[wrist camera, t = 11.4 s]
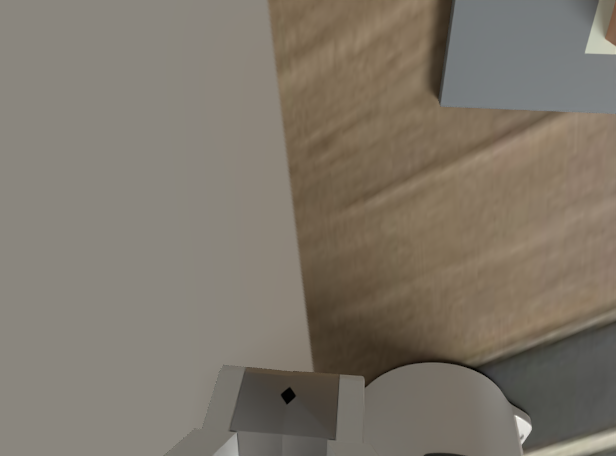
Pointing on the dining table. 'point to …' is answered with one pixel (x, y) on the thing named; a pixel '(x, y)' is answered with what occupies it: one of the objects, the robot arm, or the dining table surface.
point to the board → (530, 56)
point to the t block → (612, 28)
